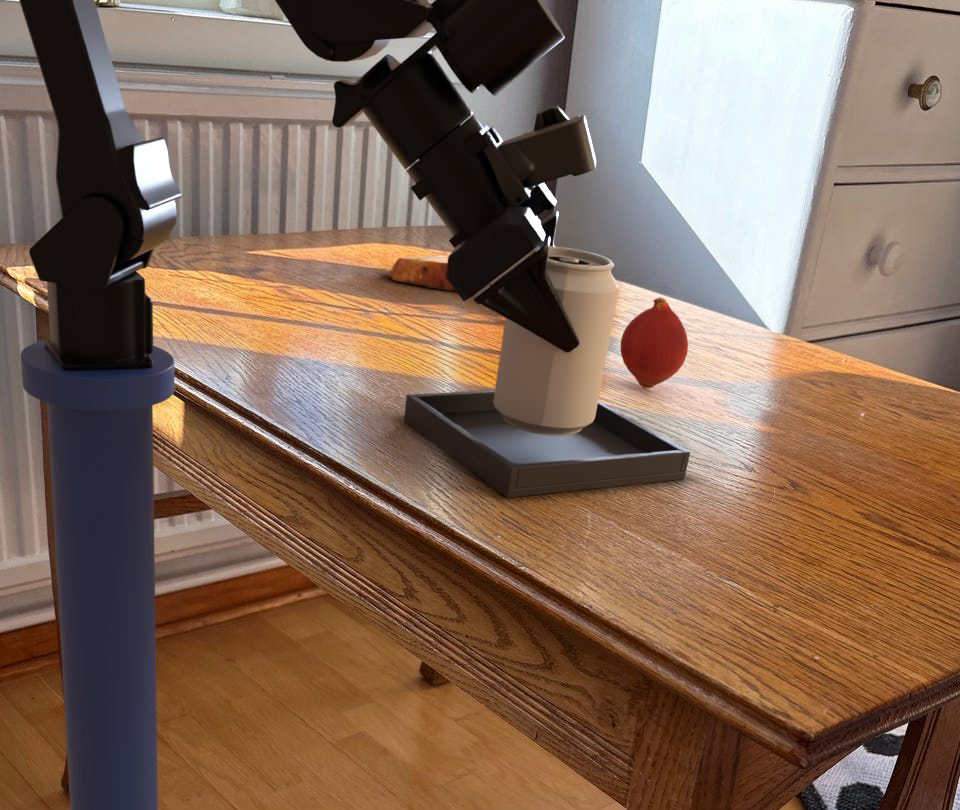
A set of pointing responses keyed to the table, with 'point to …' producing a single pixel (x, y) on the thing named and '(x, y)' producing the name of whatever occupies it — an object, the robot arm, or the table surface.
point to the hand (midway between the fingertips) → (575, 334)
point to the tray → (543, 447)
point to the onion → (654, 344)
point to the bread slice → (422, 271)
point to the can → (560, 351)
